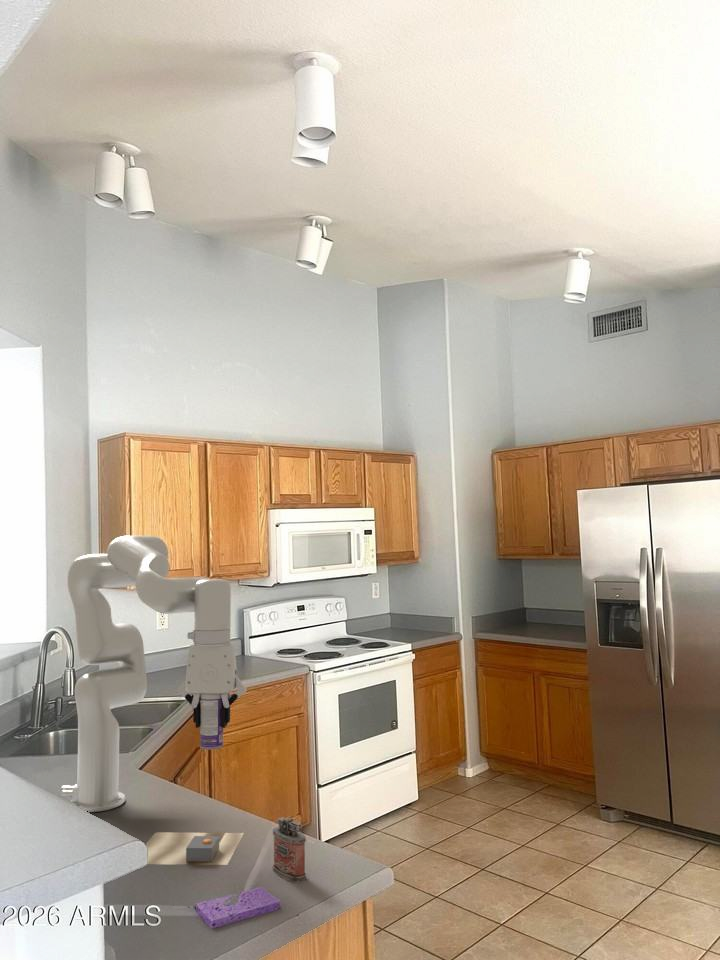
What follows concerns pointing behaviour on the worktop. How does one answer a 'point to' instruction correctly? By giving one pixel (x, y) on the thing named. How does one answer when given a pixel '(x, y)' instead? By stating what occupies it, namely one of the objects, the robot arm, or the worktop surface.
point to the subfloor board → (173, 847)
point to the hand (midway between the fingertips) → (211, 725)
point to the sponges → (237, 907)
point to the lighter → (289, 850)
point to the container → (211, 722)
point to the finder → (202, 849)
